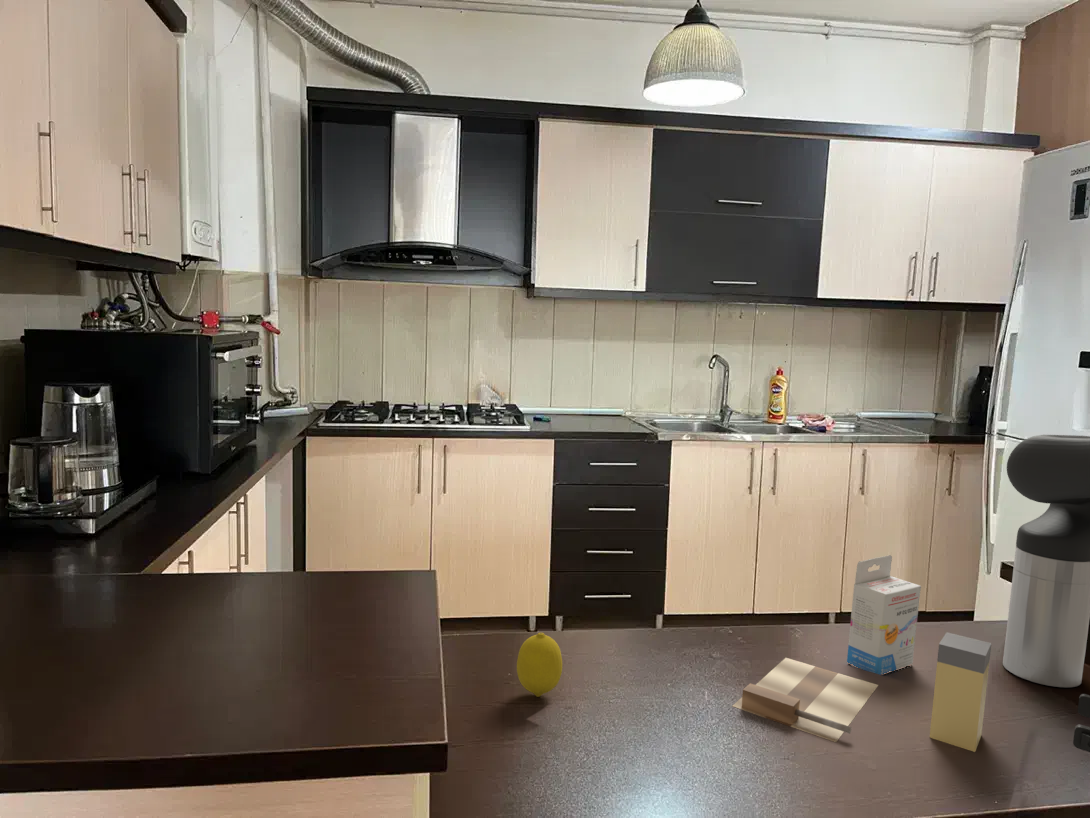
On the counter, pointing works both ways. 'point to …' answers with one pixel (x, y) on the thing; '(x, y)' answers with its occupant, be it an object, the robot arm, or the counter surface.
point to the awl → (781, 707)
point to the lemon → (539, 664)
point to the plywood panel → (817, 695)
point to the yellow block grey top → (960, 691)
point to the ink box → (882, 618)
